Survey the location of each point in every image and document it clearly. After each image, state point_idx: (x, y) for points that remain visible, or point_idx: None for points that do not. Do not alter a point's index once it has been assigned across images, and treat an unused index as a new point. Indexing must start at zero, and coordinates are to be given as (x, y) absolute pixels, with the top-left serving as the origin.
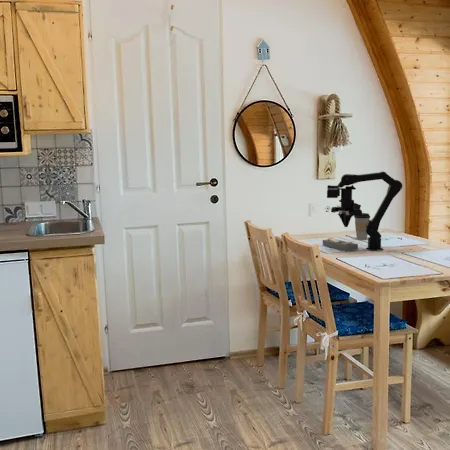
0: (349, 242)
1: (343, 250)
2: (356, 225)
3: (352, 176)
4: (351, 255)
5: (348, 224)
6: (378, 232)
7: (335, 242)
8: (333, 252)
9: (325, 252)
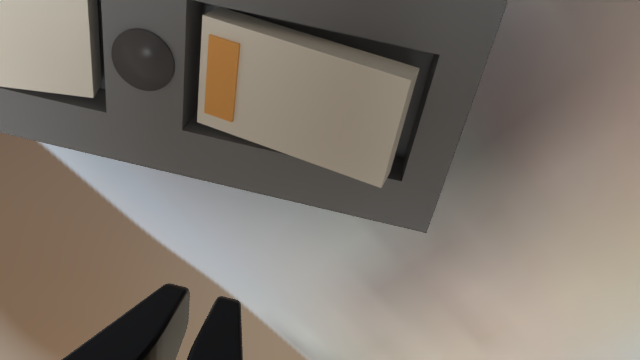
0: (396, 136)
1: None
2: None
3: None
4: (622, 322)
5: (241, 357)
6: None
7: (134, 132)
8: (357, 307)
9: (298, 344)
